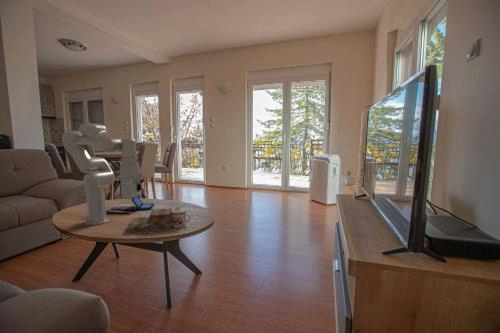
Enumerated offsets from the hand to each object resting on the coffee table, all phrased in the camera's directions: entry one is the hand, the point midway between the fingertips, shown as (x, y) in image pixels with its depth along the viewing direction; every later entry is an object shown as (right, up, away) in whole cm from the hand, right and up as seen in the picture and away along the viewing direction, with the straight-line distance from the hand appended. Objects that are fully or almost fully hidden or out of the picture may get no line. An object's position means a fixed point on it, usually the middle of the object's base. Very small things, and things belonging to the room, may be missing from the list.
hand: (131, 191), depth 135 cm
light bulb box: (0, -3, 0) cm, 3 cm away
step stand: (+10, -22, +3) cm, 25 cm away
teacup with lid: (+26, -22, +9) cm, 35 cm away
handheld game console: (-14, -18, +45) cm, 50 cm away
